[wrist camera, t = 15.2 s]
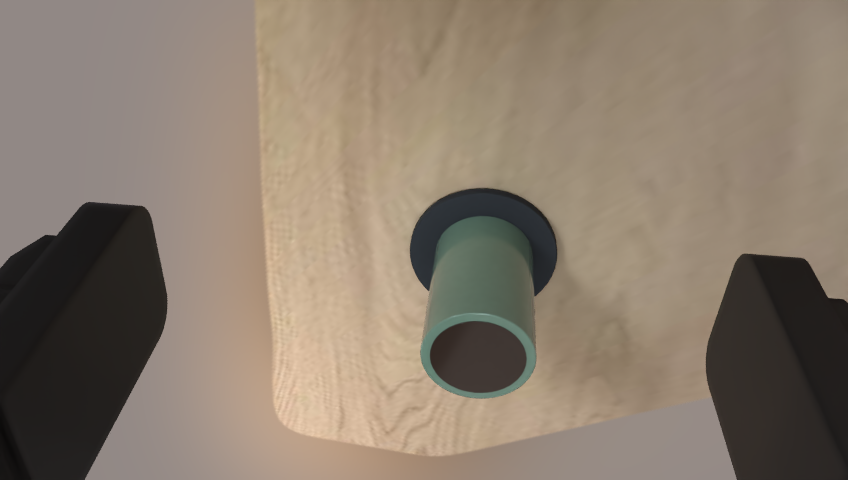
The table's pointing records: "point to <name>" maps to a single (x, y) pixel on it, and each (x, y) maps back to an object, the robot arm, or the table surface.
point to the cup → (480, 309)
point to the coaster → (484, 205)
